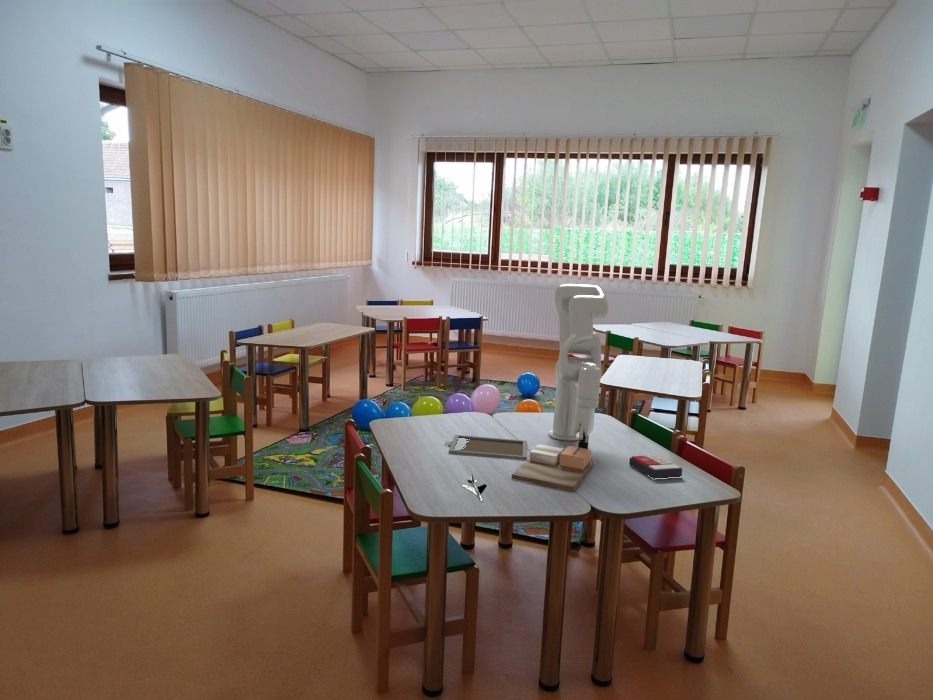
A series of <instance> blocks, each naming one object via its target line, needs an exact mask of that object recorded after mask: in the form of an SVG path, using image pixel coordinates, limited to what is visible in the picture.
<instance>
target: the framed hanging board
mask: <svg viewBox="0 0 933 700" xmlns="http://www.w3.org/2000/svg"><path fill="white" fill-rule="evenodd" d="M458 438H465V439H468V440H466V441H469V442H467V443H466V444H465V445H466V447H465V446H464V447H465V448H464V447H463V448H464V449H461V450H454V449H455V446H456V444H457V441H458ZM469 439H470V440H469ZM447 443H451V444H447ZM445 444H446V445H448V446H447V447H449V446H450V447H449V449H448V454H451V453H454V454H453V455H463V456H475V457H487V458H501V459H510V460H511V459H513V460H522V461H527V460H528V441H527V440H523V439H522V440H521V439H513V438H512V439H510V438H501V437H500V438H498V437H485V436H473V435H463V434H455V435H454V437H453V440H451V441H447V442H445V443H444V445H445ZM446 445H445V446H446Z"/></svg>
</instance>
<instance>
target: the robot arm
mask: <svg viewBox="0 0 933 700" xmlns="http://www.w3.org/2000/svg"><path fill="white" fill-rule="evenodd" d="M554 303H555V304H554V305H555V309H556V312H557V314H558V319H559V328H558V329H559V331H558V332H559V333H558V335H559V340H558V341H559V349H560V350H559V353H558V360H557V362H556V363H555V367H554V368H555V382H556V383H555V399H554V400H555V401H554V411H553V421H552V422H553V424H552V429H550V430H549V431H548V436H549V437H550V438H553V439H556V440H559V441H566V442H567V441H572V442H573V441H578V442H577V447H578V448H584V449H589V439H590V434H591V433H592V432H593V431H594V424H595V415H596V414H595V411H596V409H597V408H598V407H599V396H600V386H601V375H602V374H601V373H602V343H601V337H600V334H599V333H598V332H596V331H595V330H594V324H593V323H594V321H593V319H597V320H599V319H600V320H601V319H605V318H607V315H608V313H609V304H608V303H609V302H608V300H607V297H606V295H605V293H604V292H603V290H602V288H601V287H600V286H598V285H593V284H580V283H579V284H576V283H564V284H560V285H558V286H557V287H556V289H555V291H554ZM568 355H577V356H578V355H579V356H582V355H583V356H586V357H572V356H569V357H568ZM576 384H577V385H576Z"/></svg>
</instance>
